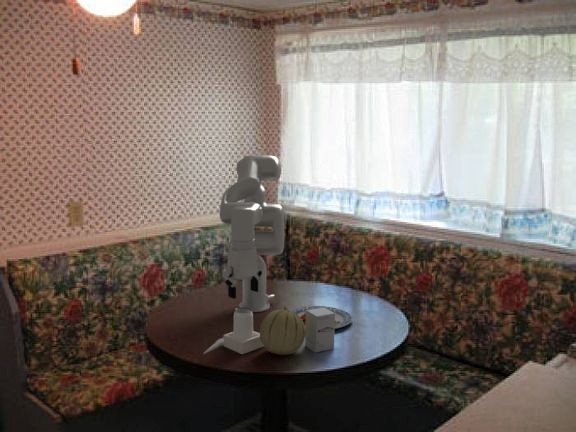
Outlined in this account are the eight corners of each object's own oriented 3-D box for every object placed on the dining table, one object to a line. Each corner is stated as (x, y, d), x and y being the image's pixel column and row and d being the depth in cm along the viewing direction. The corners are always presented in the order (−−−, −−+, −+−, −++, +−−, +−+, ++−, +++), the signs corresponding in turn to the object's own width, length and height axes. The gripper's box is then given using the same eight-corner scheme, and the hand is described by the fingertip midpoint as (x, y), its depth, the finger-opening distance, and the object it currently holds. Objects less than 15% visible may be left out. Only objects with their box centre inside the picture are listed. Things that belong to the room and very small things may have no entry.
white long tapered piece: (226, 338, 201) (226, 333, 200) (232, 339, 200) (232, 334, 199) (200, 355, 188) (199, 350, 188) (206, 357, 187) (206, 351, 186)
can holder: (245, 338, 201) (245, 327, 200) (263, 346, 194) (263, 335, 193) (223, 346, 194) (223, 334, 193) (242, 354, 187) (242, 342, 186)
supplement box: (315, 353, 188) (316, 316, 186) (304, 345, 195) (304, 309, 193) (334, 349, 192) (335, 313, 190) (323, 341, 198) (323, 306, 196)
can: (250, 348, 190) (250, 313, 188) (231, 347, 191) (231, 312, 189) (254, 341, 196) (254, 307, 194) (236, 339, 197) (236, 306, 195)
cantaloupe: (259, 363, 181) (259, 317, 178) (259, 344, 195) (259, 302, 193) (306, 362, 181) (307, 316, 179) (303, 344, 196) (303, 301, 193)
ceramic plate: (269, 322, 217) (269, 315, 217) (313, 306, 236) (313, 299, 235) (322, 340, 200) (322, 332, 199) (365, 322, 218) (365, 314, 218)
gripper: (255, 238, 197) (255, 286, 200) (214, 246, 185) (215, 297, 188) (270, 241, 191) (270, 291, 195) (229, 250, 179) (230, 303, 183)
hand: (243, 294), depth 191 cm, fingers open, 9 cm apart
